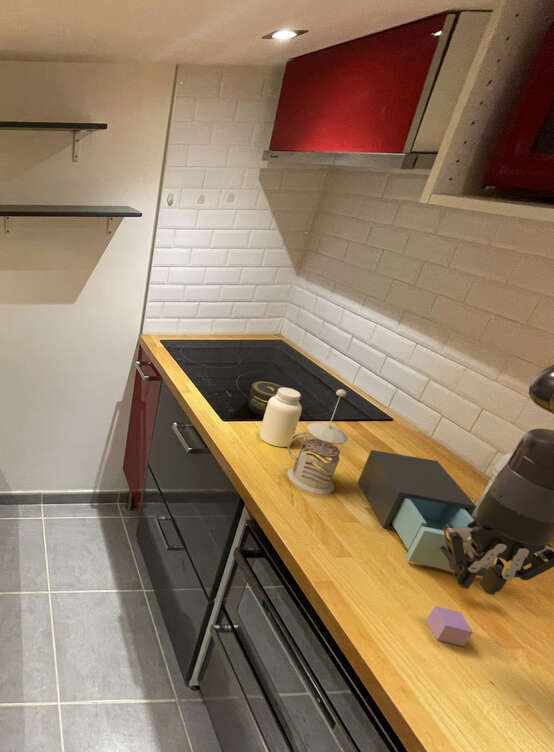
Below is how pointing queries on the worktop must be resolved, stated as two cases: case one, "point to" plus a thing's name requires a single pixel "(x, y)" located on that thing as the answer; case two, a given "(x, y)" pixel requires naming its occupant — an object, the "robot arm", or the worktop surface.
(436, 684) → the worktop surface
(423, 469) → the drawer cabinet casing
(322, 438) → the french press
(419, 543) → the light blue drawer
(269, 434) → the pill bottle
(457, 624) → the block
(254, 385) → the jar
